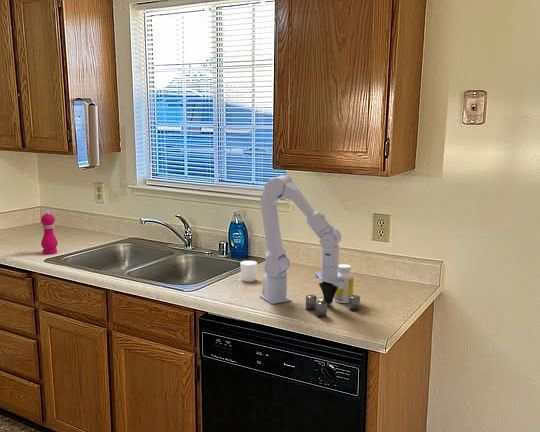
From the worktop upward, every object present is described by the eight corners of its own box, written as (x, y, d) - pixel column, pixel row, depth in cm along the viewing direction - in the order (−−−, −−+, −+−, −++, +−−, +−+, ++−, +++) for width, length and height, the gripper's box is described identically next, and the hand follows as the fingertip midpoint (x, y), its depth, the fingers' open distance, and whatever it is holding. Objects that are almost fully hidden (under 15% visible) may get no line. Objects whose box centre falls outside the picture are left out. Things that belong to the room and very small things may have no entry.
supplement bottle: (350, 297, 199) (352, 263, 197) (354, 303, 192) (355, 268, 190) (332, 297, 199) (333, 263, 196) (335, 303, 192) (336, 268, 190)
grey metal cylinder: (346, 308, 188) (347, 296, 187) (355, 306, 189) (355, 294, 189) (353, 311, 185) (353, 299, 184) (361, 310, 186) (362, 297, 185)
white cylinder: (236, 279, 220) (236, 262, 218) (249, 275, 224) (249, 259, 223) (247, 283, 215) (247, 265, 213) (260, 279, 219) (260, 262, 218)
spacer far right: (313, 315, 181) (314, 302, 180) (322, 313, 183) (323, 300, 182) (319, 318, 178) (320, 305, 177) (329, 316, 180) (329, 303, 179)
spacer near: (303, 308, 187) (303, 295, 187) (312, 306, 189) (312, 294, 188) (309, 311, 184) (309, 298, 184) (318, 309, 186) (318, 297, 185)
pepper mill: (42, 255, 252) (39, 212, 248) (40, 252, 258) (37, 210, 254) (59, 253, 255) (56, 211, 252) (57, 250, 262) (54, 209, 258)
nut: (314, 303, 192) (314, 297, 192) (325, 301, 194) (325, 295, 194) (321, 307, 189) (322, 301, 188) (332, 305, 191) (332, 299, 190)
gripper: (352, 268, 182) (350, 307, 184) (327, 258, 194) (326, 295, 197) (334, 271, 178) (333, 311, 181) (310, 261, 191) (309, 298, 193)
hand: (328, 303), depth 189 cm, fingers closed
